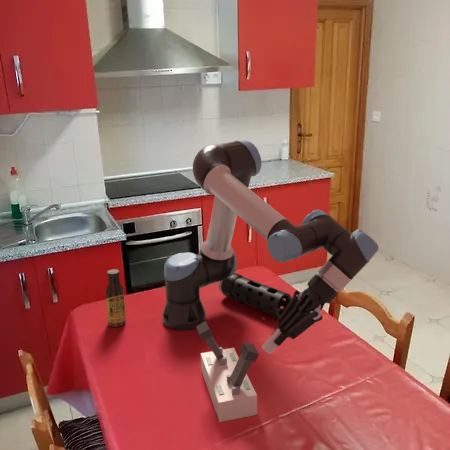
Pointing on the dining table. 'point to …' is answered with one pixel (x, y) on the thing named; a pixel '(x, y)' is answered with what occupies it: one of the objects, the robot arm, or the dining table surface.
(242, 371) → the outer lever
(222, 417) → the switch panel
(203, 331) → the inner lever
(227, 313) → the dining table surface
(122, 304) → the sauce bottle
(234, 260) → the robot arm
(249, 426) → the dining table surface
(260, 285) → the muzzle brake
